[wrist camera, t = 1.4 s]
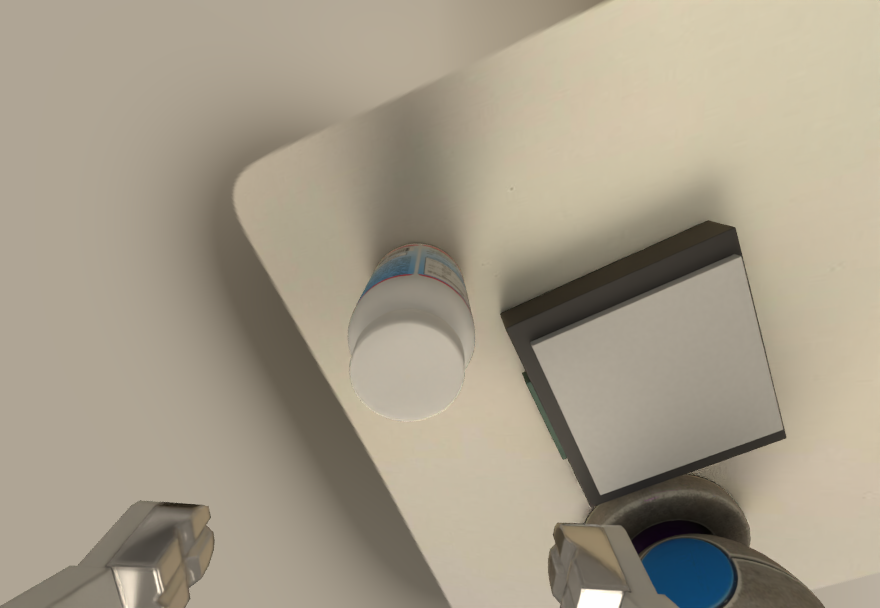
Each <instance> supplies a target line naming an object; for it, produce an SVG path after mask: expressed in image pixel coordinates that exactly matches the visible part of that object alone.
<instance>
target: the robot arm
mask: <svg viewBox="0 0 880 608" xmlns="http://www.w3.org/2000/svg"><path fill="white" fill-rule="evenodd" d="M210 518H211V516H210V511H209V507H208V506H205V505H195V504H183V503H170V502H153V501H138V502H136V503H135V504H133V505H131V506H130V508H129V509H128V510H127V511H126V512H125V513H124V514H123V515H122V516H121V518H120V519H119V520H118V521H117V522H116V523H115V524H114V525H113V527H112V528H111V529H110V530H109V531H108V532H107V533H106V534H105V536H104V537H103V538H102V539H101V540H100V541H99V542H98V543H97V544H96V546H95V547H94V548H93V549H92V550H91V551H90V552H89V553H88V554H87V555H86V557H85V558H84V559H83V560H82V561H81V562H80V563H79V564H78V566H69V567H67V568H65V569H63V570H62V571H60V572H58V573H57V574H55V575H53V576H51V577H50V578H48V579H46V580H44V581H43V582H41V583H39V584H38V585H36V586H34V587H32V588H31V589H29V590H27V591H25V592H24V593H22V594H20V595H18V596H17V597H15V598H13V599H12V600H10V601H8V602H6V603H5V604H3V605H1V606H0V608H185V607H186V605H187V603H188V602H189V600H190V593H189V588H190V587H191V586H192V585H194V584H195V583H196V582H198V581H199V580H200V579H201V578H202V577H203V575H204V573H205V571H206V570H207V567H208V566H209V563H210V560H211V557H212V554H213V551H214V534H213V531H211V529H210V528H209V527H208V526H206V524H207V523H208V521H209V520H210ZM553 536H554V540H555V543H556V544H555V545H554V546H553V547H552V548H551V549H550V552H549V558H548V574H549V581H550V586H551V590H552V594H553V596H554V597H555V598H556V599H557V600H558V602H559V603H560V604H561V605H560V608H679V607H678V606H677V605H676V604H675V603H674V602H672V601H671V600H670V599H669V598H668V597H667V596H666V595H664V594H657V592H656V590H655V588H654V586H653V584H652V582H651V580H650V578H649V576H648V574H647V572H646V570H645V568H644V566H643V564H642V562H641V560H640V558H639V556H638V554H637V552H636V550H635V548H634V546H633V544H632V542H631V540H630V538H629V536H628V534H627V532H626V530H625V529H624V528H623V527H622V526H620V525H598V524H577V523H557V524H556V526H555V528H554V532H553Z"/></svg>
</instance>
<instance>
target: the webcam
mask: <svg viewBox="0 0 880 608" xmlns="http://www.w3.org/2000/svg"><path fill="white" fill-rule="evenodd" d="M585 524H598V525H620V526H622V527H623V528H624V529H625V530H626V532H627V534H628V536H629V538H630V540H631V542H632V544H633V546H634V548H635V550H636V552H637V554H638V556H639V558H640V560H641V562H642V564H643V566H644V568H645V570H646V572H647V574H648V576H649V578H650V580H651V582H652V584H653V586H654V588H655V590H656V592H657V594H664V595H666V596H667V597H668V598H669V599H670V600H671V601H672V602H674V603H675V604H676V605H677V606H678V607H679V608H825V607H824V606H823V604H822V603H821V602H820V600H819V599H818V598H817V597H816V596H815V595H814V594H813V592H812V591H811V590H809V589H808V588H807V587H806V586H805V585H804V584H803V583H802V582H801V581H799V580H798V579H797V578H796V577H795V576H793V575H792V574H791V573H790V572H788V571H787V570H786V569H785V568H783V567H782V566H780V565H779V564H778V563H776V562H775V561H773V560H771V559H770V558H768V557H767V556H765V555H764V554H762V553H760V552H758V551H756V550H754V549H752V548H750V547H749V546H750V528H749V525H748V522H747V520H746V518H745V516H744V514H743V512H742V510H741V509H740V507H739V506H738V505H737V504H736V502H735V501H734V500H733V499H732V497H731V496H730V495H729V494H728V493H727V492H726V491H725V490H724V489H722V488H721V487H720V486H718V485H717V484H715V483H713V482H711V481H709V480H707V479H703V478H700V477H697V476H692V475H687V474H684V475H681V476H678V477H676V478H673V479H670V480H667V481H664V482H661V483H659V484H656V485H653V486H650V487H647V488H645V489H642V490H639V491H636V492H633V493H631V494H628V495H625V496H622V497H619V498H616V499H614V500H611V501H608V502H605V503H602V504H600V505H597V507H596V508H595V509H594V510H593V511H592V513H591V514H590V515H589V517H588V519H587V521H586V522H585Z"/></svg>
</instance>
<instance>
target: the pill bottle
mask: <svg viewBox="0 0 880 608" xmlns="http://www.w3.org/2000/svg"><path fill="white" fill-rule="evenodd" d="M348 345H349V350H350V354H351V360H350V379H351V384H352V386H353V389H354V391H355V393H356V395H357V396H358V397H359V399H360V400H361V401H362V402H363V403H364V404H365V405H366V406H367V407H368V408H369V409H371V410H372V411H373V412H375V413H377V414H379V415H381V416H383V417H385V418H388V419H392V420H397V421H408V422H411V421H419V420H424V419H427V418H430V417H433V416H435V415H437V414H439V413H440V412H442V411H444V410H445V409H446V408H448V406H450V405H451V404H452V403H453V401H454V400H455V399H456V397H457V396H458V394H459V393H460V391H461V388H462V386H463V382H464V377H465V369H466V368H467V366H468V364H469V362H470V360H471V358H472V355H473V352H474V347H475V328H474V322H473V317H472V313H471V309H470V305H469V300H468V296H467V292H466V287H465V283H464V279H463V276H462V273H461V271H460V269H459V267H458V265H457V264H456V262H455V261H454V260H453V259H452V258H451V257H450V256H449V255H448V254H447V253H446V252H444V251H442V250H441V249H439V248H437V247H434V246H431V245H427V244H418V243H416V244H407V245H403V246H401V247H398V248H396V249H394V250H392V251H391V252H389V253H388V254H387V255H386V256H384V258H383V259H382V260H381V261H380V262H379V264H378V265H377V267H376V268H375V270H374V272H373V274H372V276H371V278H370V280H369V282H368V284H367V286H366V288H365V290H364V292H363V293H362V295H361V297H360V299H359V301H358V303H357V305H356V307H355V309H354V311H353V314H352V316H351V319H350V322H349V327H348Z"/></svg>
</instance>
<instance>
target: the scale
mask: <svg viewBox="0 0 880 608" xmlns="http://www.w3.org/2000/svg"><path fill="white" fill-rule="evenodd" d="M500 315H501V318H502V320H503V323H504V326H505V328H506V331H507V333H508V335H509V337H510V339H511V341H512V343H513V345H514V347H515V350H516V352H517V354H518V356H519V358H520V360H521V362H522V364H523V366H524V368H525V371H526V372H523V373H522V374H523V376H524V379H525V382H526V384H527V386H528V388H529V390H530V393H531V395H532V397H533V399H534V401H535V403H536V405H537V407H538V409H539V411H540V413H541V415H542V417H543V419H544V422H545V424H546V426H547V428H548V430H549V432H550V434H551V436H552V438H553V440H554V442H555V444H556V446H557V449H558V451H559V453H560V455H561V457H562V459H563V460H564V459H566V458H567V459H568V461H569V463H570V465H571V467H572V469H573V471H574V473H575V475H576V477H577V479H578V482H579V484H580V486H581V488H582V490H583V492H584V494H585V496H586V498H587V500H588V503H589V505H590V507H594V506H597V505H600V504H602V503H605V502H608V501H611V500H614V499H616V498H619V497H622V496H625V495H628V494H631V493H633V492H636V491H639V490H642V489H645V488H647V487H650V486H653V485H656V484H659V483H661V482H664V481H667V480H670V479H673V478H676V477H678V476H681V475H684V474H687V473H690V472H692V471H695V470H698V469H701V468H704V467H706V466H709V465H712V464H715V463H718V462H721V461H723V460H726V459H729V458H732V457H735V456H737V455H740V454H743V453H746V452H749V451H752V450H754V449H757V448H760V447H763V446H766V445H768V444H771V443H774V442H777V441H780V440H782V439H785V438H786V434H785V430H784V426H783V422H782V418H781V413H780V409H779V405H778V401H777V397H776V393H775V389H774V385H773V380H772V376H771V372H770V368H769V364H768V360H767V356H766V352H765V348H764V343H763V339H762V335H761V331H760V327H759V323H758V319H757V315H756V310H755V306H754V302H753V298H752V294H751V290H750V286H749V282H748V278H747V273H746V269H745V265H744V261H743V257H742V253H741V249H740V245H739V240H738V236H737V232H736V228H735V227H732V226H728V225H724V224H720V223H716V222H712V221H706V222H704V223H702V224H700V225H697V226H695V227H693V228H691V229H689V230H686V231H684V232H682V233H680V234H677V235H675V236H673V237H671V238H668V239H666V240H664V241H662V242H659V243H657V244H655V245H653V246H650V247H648V248H646V249H644V250H642V251H639V252H637V253H635V254H633V255H630V256H628V257H626V258H624V259H621V260H619V261H617V262H615V263H612V264H610V265H608V266H606V267H604V268H601V269H599V270H597V271H595V272H592V273H590V274H588V275H586V276H583V277H581V278H579V279H577V280H574V281H572V282H570V283H568V284H566V285H563V286H561V287H559V288H557V289H554V290H552V291H550V292H548V293H545V294H543V295H541V296H539V297H536V298H534V299H532V300H530V301H528V302H525V303H523V304H521V305H519V306H516V307H514V308H512V309H510V310H507V311H505V312H503V313H501V314H500Z"/></svg>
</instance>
